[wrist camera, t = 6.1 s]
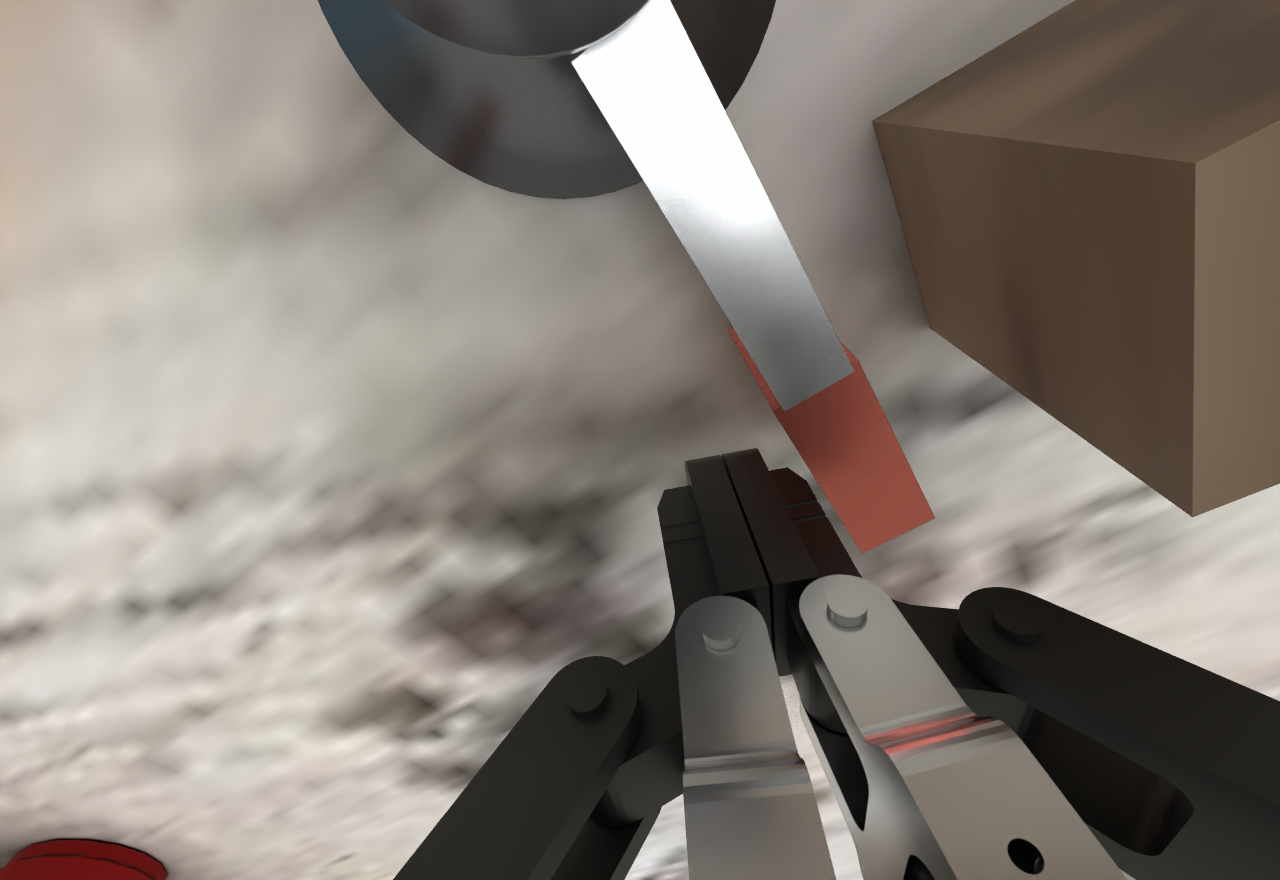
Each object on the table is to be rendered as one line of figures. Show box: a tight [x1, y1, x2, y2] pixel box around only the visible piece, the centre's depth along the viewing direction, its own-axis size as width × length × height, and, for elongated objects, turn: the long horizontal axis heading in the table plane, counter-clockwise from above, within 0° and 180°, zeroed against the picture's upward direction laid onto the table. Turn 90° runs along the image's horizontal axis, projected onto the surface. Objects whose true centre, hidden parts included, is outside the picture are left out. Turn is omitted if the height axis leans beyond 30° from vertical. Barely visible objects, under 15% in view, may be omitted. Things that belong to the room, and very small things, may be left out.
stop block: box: [873, 0, 1280, 517], centre depth 9 cm, size 5×5×7 cm
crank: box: [572, 0, 935, 553], centre depth 10 cm, size 10×2×4 cm, turn 34°
